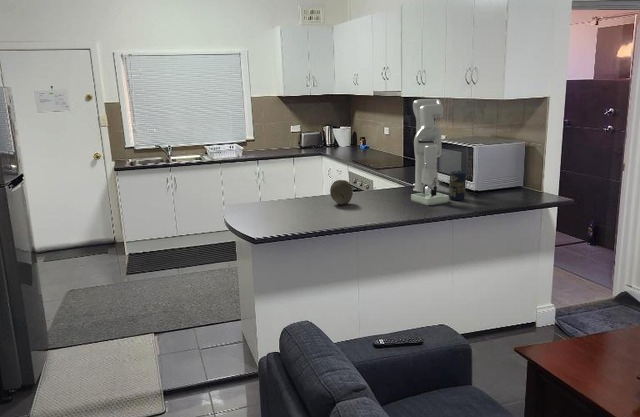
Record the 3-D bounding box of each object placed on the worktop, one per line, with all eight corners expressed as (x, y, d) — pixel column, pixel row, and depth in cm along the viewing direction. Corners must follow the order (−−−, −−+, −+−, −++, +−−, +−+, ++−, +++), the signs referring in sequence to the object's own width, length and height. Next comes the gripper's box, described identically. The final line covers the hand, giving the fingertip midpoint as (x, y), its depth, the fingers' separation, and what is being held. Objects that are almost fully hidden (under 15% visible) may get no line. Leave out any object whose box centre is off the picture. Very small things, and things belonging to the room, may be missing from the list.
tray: (411, 200, 320) (411, 194, 319) (431, 197, 327) (431, 191, 326) (427, 205, 306) (427, 199, 305) (448, 202, 313) (448, 195, 312)
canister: (445, 199, 320) (446, 170, 316) (455, 197, 326) (456, 168, 322) (458, 201, 313) (459, 172, 309) (468, 199, 319) (469, 170, 314)
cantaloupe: (357, 203, 318) (357, 179, 315) (345, 207, 307) (344, 183, 304) (337, 200, 326) (337, 177, 323) (325, 205, 315) (324, 181, 311)
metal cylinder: (422, 199, 318) (422, 186, 316) (430, 198, 320) (430, 185, 319) (428, 200, 312) (429, 187, 311) (436, 199, 315) (437, 186, 313)
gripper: (416, 164, 317) (415, 193, 322) (434, 168, 302) (434, 198, 306) (426, 163, 321) (425, 191, 325) (444, 167, 305) (444, 196, 310)
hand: (429, 194), depth 316 cm, fingers open, 7 cm apart
